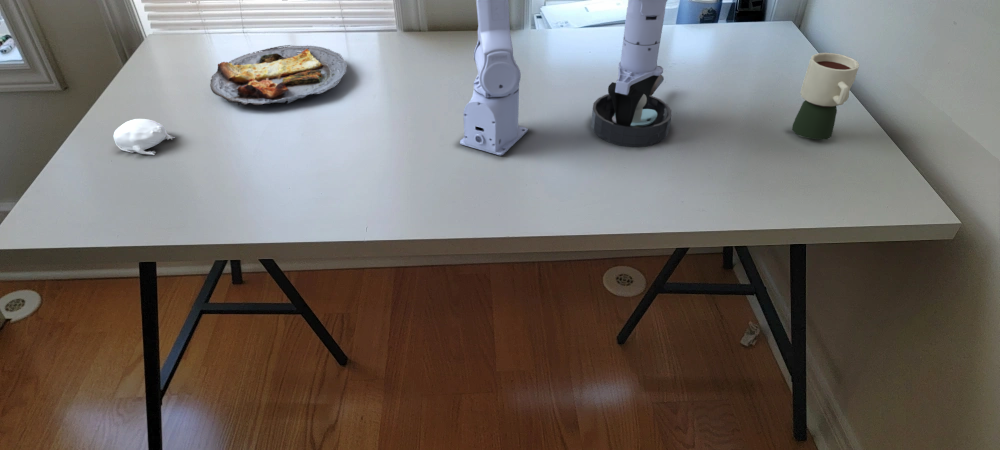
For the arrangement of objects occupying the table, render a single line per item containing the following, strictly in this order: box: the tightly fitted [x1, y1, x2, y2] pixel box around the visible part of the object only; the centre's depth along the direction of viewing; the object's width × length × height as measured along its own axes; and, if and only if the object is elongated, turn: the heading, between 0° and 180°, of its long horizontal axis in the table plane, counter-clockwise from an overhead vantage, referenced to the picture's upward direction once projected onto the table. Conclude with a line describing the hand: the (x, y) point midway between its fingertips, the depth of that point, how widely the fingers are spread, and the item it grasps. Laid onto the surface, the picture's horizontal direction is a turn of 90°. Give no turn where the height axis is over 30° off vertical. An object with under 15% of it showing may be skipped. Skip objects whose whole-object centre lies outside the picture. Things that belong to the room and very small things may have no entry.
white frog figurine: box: [113, 118, 176, 156], centre depth 105 cm, size 8×7×4 cm
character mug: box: [791, 52, 860, 140], centre depth 105 cm, size 11×7×13 cm, turn 3°
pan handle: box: [650, 74, 665, 96], centre depth 117 cm, size 10×2×2 cm, turn 151°
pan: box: [590, 93, 673, 148], centre depth 110 cm, size 13×13×4 cm
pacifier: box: [612, 94, 657, 127], centre depth 109 cm, size 7×6×6 cm
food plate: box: [209, 44, 348, 106], centre depth 124 cm, size 25×23×4 cm
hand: (630, 116), depth 110 cm, fingers open, 7 cm apart
